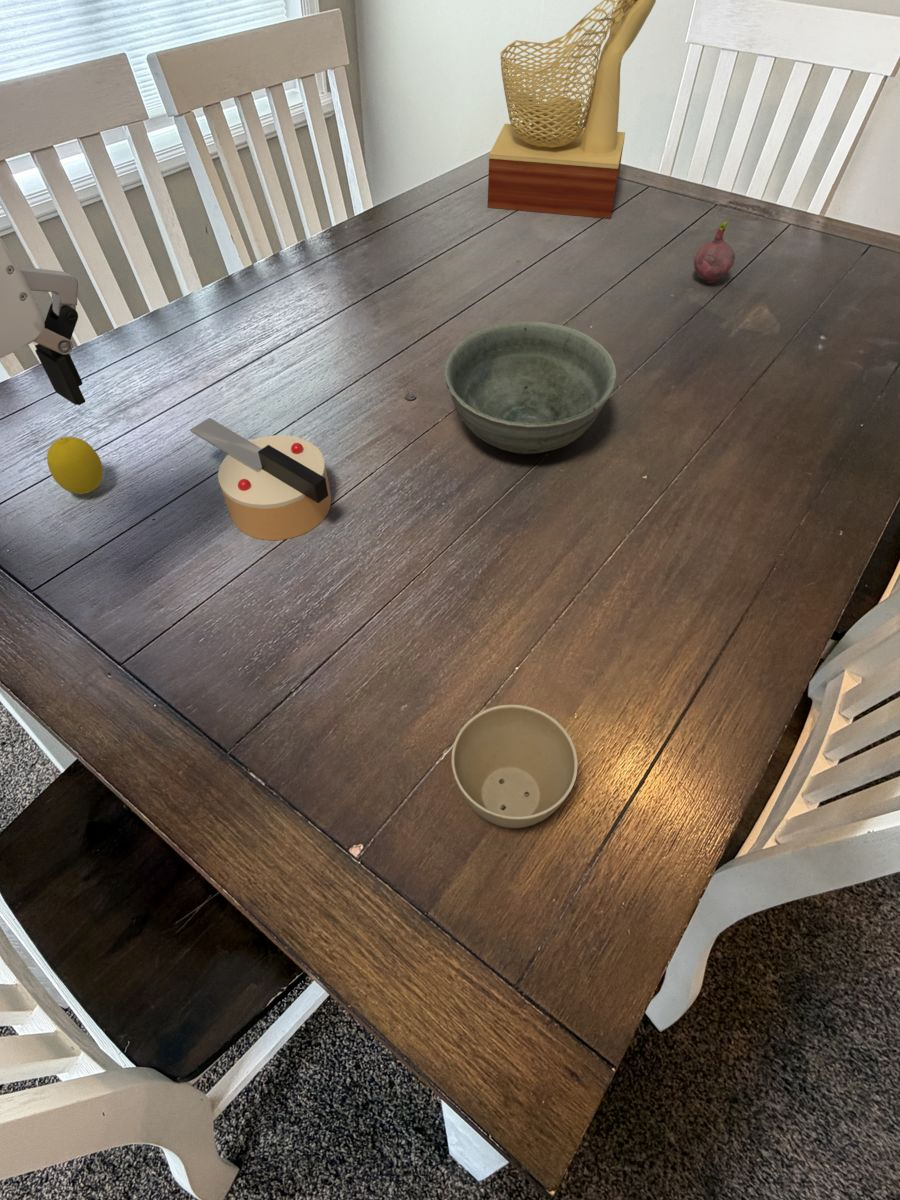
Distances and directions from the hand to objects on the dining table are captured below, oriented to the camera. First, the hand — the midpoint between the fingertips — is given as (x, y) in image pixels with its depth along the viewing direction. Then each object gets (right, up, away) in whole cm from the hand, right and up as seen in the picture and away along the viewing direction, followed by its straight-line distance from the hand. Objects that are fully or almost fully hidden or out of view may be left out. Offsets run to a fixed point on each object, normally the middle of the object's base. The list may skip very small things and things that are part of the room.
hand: (14, 428), depth 54 cm
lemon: (-12, 0, +35) cm, 36 cm away
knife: (+11, +3, +29) cm, 31 cm away
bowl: (+42, +9, +41) cm, 60 cm away
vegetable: (+75, +39, +66) cm, 107 cm away
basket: (+53, +65, +87) cm, 122 cm away
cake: (+12, -1, +33) cm, 35 cm away
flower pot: (+38, -30, +9) cm, 49 cm away
